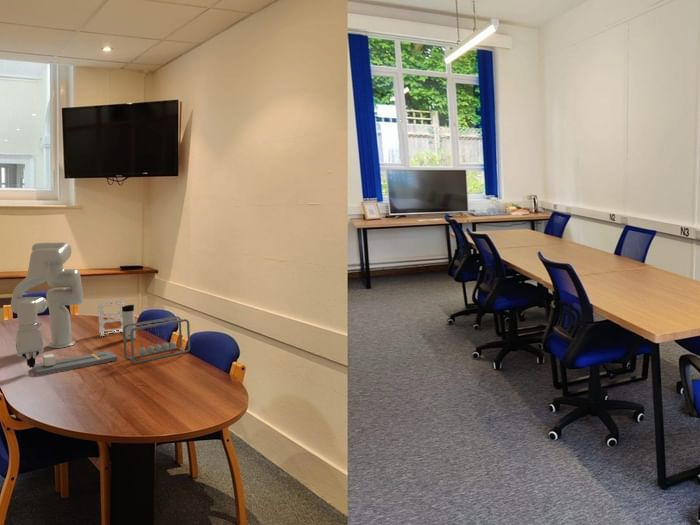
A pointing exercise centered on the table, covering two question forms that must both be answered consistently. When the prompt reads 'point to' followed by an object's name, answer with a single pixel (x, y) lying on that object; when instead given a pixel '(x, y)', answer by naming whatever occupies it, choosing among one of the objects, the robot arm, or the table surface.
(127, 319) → the travel mug
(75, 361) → the board
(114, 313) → the film strip holder
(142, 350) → the newton's cradle
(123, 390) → the table surface
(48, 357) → the fader tab
